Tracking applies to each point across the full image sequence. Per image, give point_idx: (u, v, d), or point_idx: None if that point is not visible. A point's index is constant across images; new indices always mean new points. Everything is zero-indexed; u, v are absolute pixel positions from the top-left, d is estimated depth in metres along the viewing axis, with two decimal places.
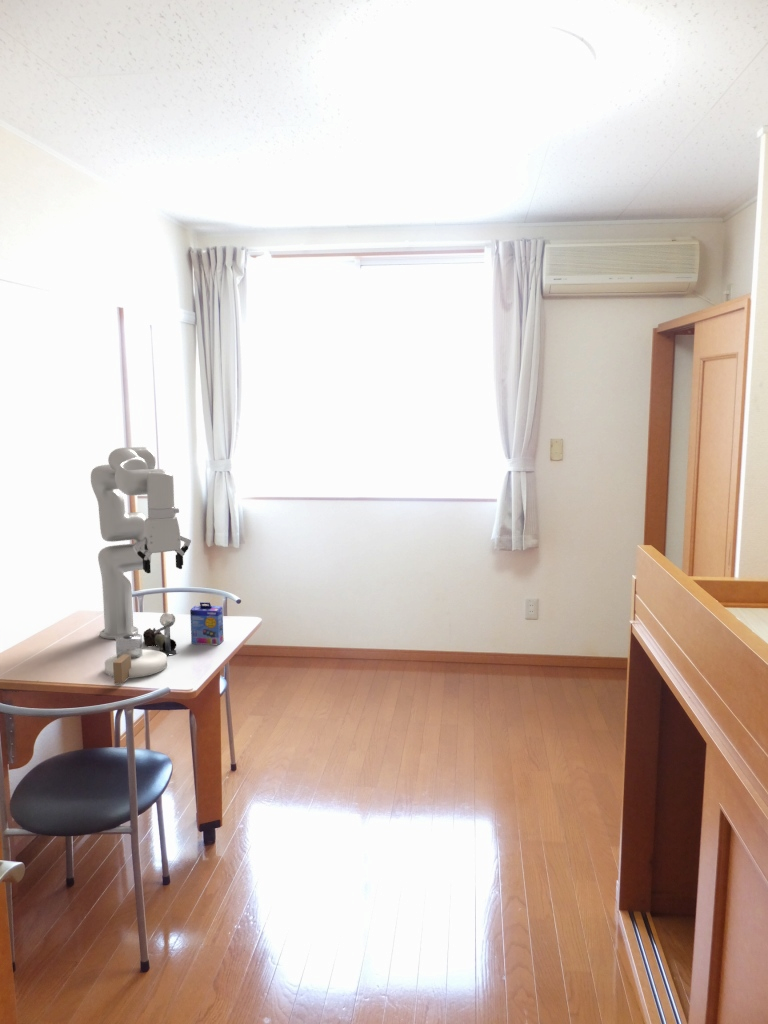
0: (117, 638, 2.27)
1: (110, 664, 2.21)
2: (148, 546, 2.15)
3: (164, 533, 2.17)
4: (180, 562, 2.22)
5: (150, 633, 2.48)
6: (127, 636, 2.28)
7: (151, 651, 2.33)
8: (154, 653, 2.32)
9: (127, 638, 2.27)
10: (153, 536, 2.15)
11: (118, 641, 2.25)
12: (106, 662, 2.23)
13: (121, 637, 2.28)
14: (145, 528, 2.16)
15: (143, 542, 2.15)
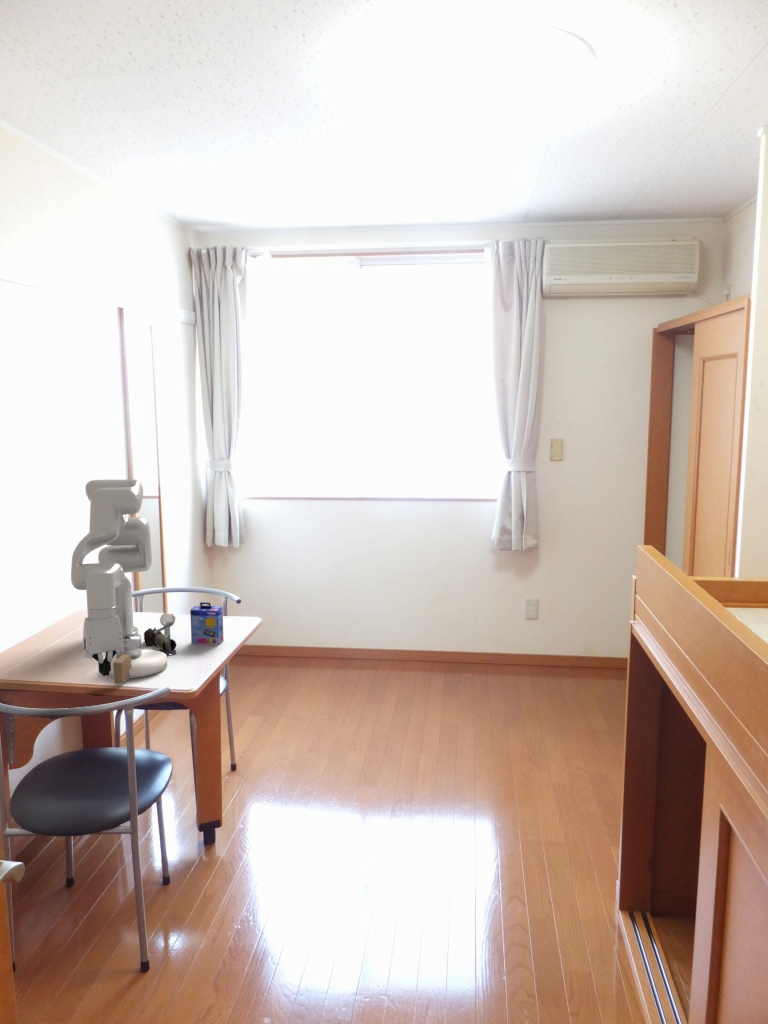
0: None
1: None
2: (87, 648, 2.06)
3: (104, 633, 2.08)
4: (107, 668, 2.10)
5: (150, 633, 2.48)
6: (126, 636, 2.28)
7: (151, 651, 2.33)
8: (154, 653, 2.32)
9: (126, 638, 2.27)
10: (92, 637, 2.06)
11: None
12: None
13: None
14: (84, 628, 2.07)
15: None
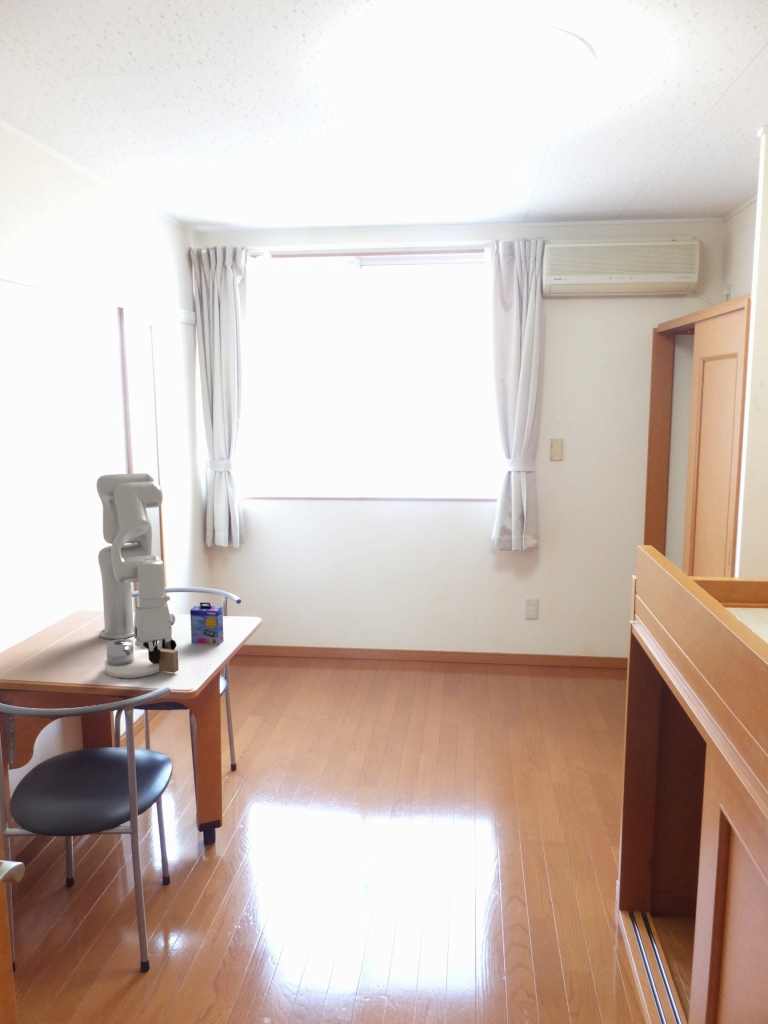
0: (117, 646, 2.20)
1: (138, 667, 2.19)
2: (138, 636, 2.14)
3: (154, 622, 2.16)
4: (157, 656, 2.19)
5: None
6: (118, 642, 2.22)
7: None
8: None
9: (124, 642, 2.23)
10: (143, 626, 2.14)
11: (124, 646, 2.20)
12: (129, 669, 2.18)
13: (116, 645, 2.21)
14: (136, 618, 2.15)
15: None
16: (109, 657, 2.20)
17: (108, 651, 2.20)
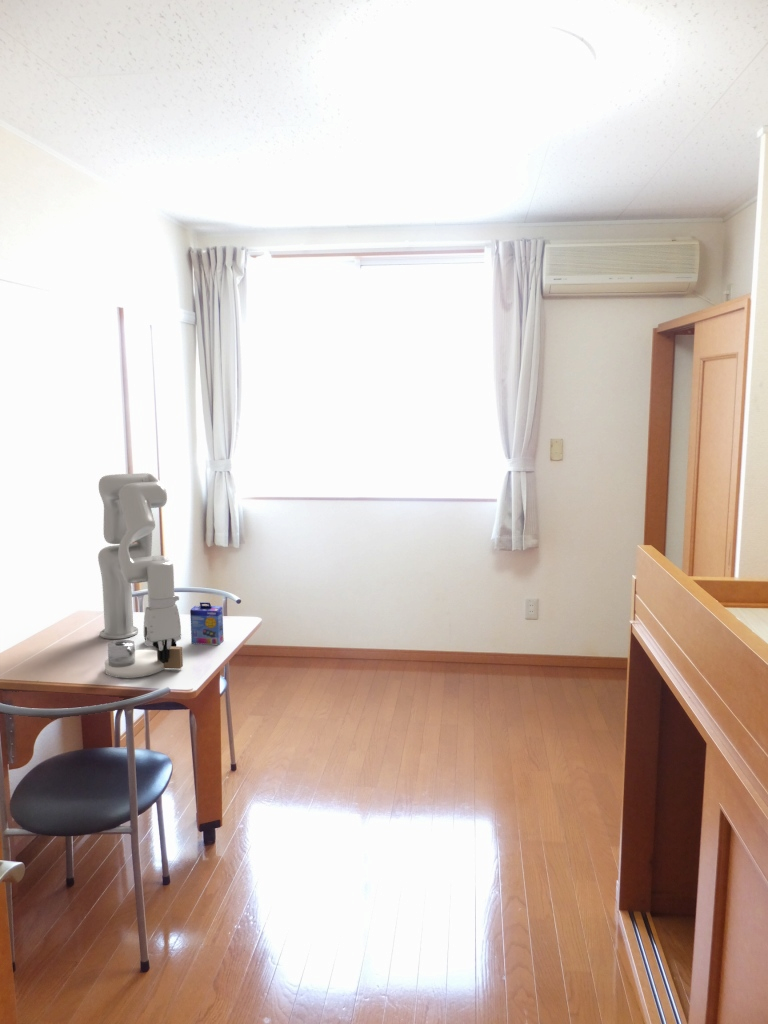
0: (122, 647, 2.19)
1: (145, 666, 2.20)
2: (148, 636, 2.16)
3: (164, 622, 2.18)
4: (166, 656, 2.21)
5: None
6: (120, 643, 2.22)
7: None
8: None
9: (126, 643, 2.22)
10: (153, 626, 2.16)
11: (128, 647, 2.20)
12: (137, 668, 2.18)
13: (119, 646, 2.20)
14: (145, 617, 2.17)
15: None
16: (113, 658, 2.19)
17: (111, 653, 2.19)
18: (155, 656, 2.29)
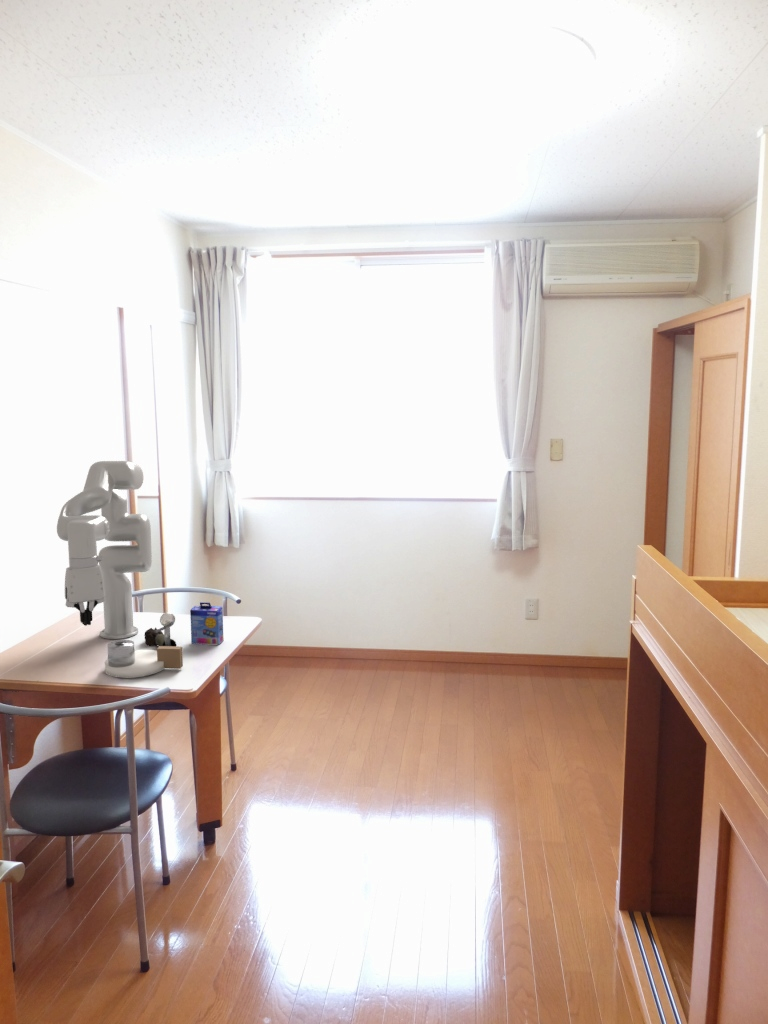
0: (122, 647, 2.19)
1: (145, 666, 2.20)
2: (69, 596, 2.10)
3: (85, 583, 2.12)
4: (89, 618, 2.14)
5: (151, 633, 2.48)
6: (120, 643, 2.22)
7: None
8: None
9: (126, 643, 2.22)
10: (74, 586, 2.10)
11: (128, 647, 2.20)
12: (137, 668, 2.18)
13: (119, 646, 2.20)
14: (66, 578, 2.11)
15: None
16: (113, 658, 2.19)
17: (111, 653, 2.19)
18: (155, 656, 2.29)
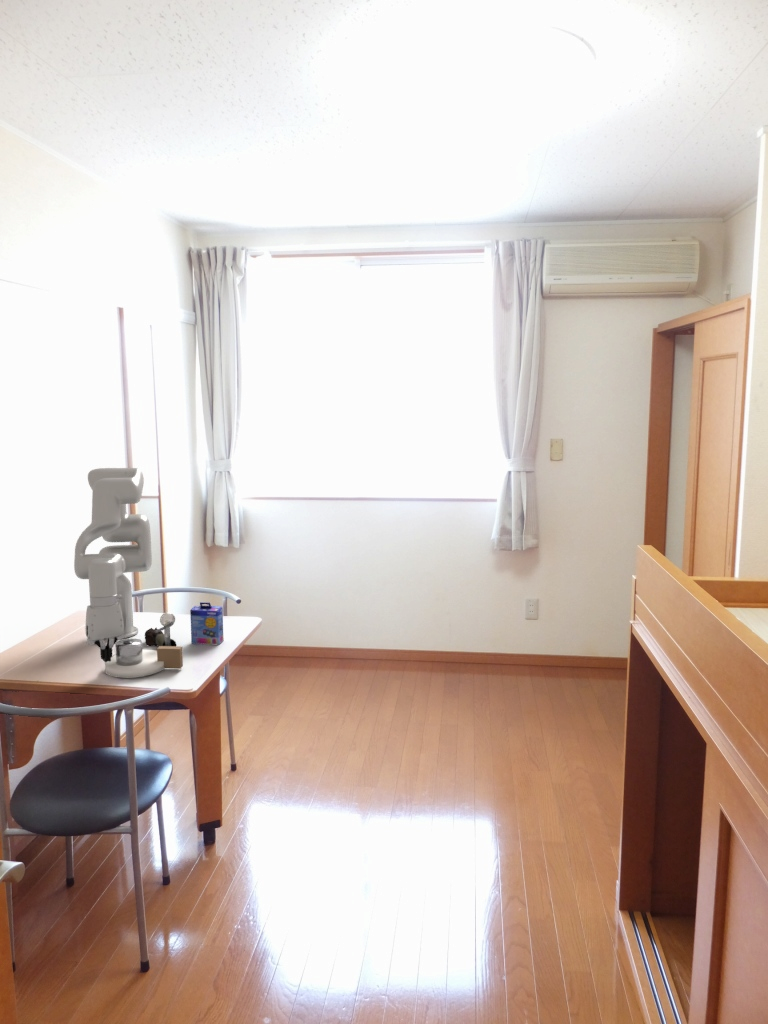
0: (130, 645, 2.20)
1: (145, 666, 2.20)
2: (89, 634, 2.15)
3: (105, 621, 2.16)
4: (109, 654, 2.19)
5: (151, 633, 2.48)
6: (128, 642, 2.23)
7: (114, 656, 2.28)
8: None
9: (134, 642, 2.23)
10: (94, 624, 2.15)
11: (136, 645, 2.21)
12: (137, 668, 2.18)
13: (127, 644, 2.21)
14: (87, 616, 2.16)
15: None
16: (121, 657, 2.20)
17: (119, 651, 2.20)
18: (155, 656, 2.29)
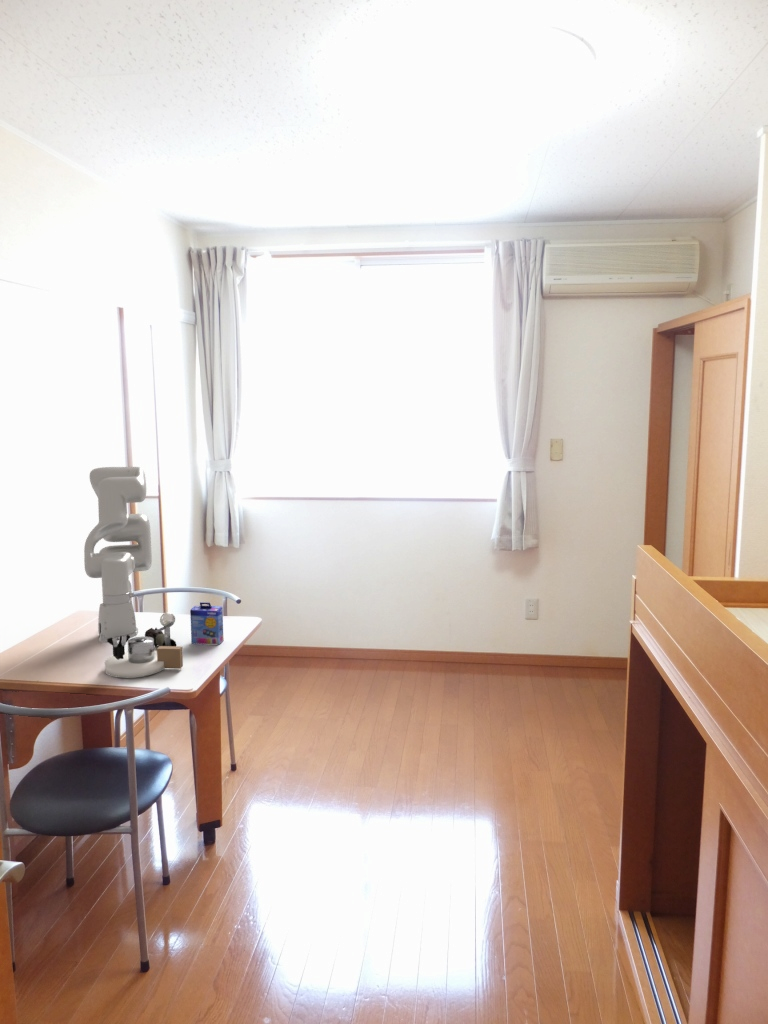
0: (142, 643, 2.22)
1: (145, 666, 2.20)
2: (102, 632, 2.17)
3: (118, 618, 2.19)
4: (121, 652, 2.21)
5: (151, 633, 2.48)
6: (140, 640, 2.25)
7: None
8: None
9: (146, 639, 2.26)
10: (107, 622, 2.17)
11: (148, 643, 2.23)
12: (137, 668, 2.18)
13: (139, 642, 2.23)
14: (100, 614, 2.18)
15: None
16: (133, 655, 2.22)
17: (132, 649, 2.22)
18: (155, 656, 2.29)
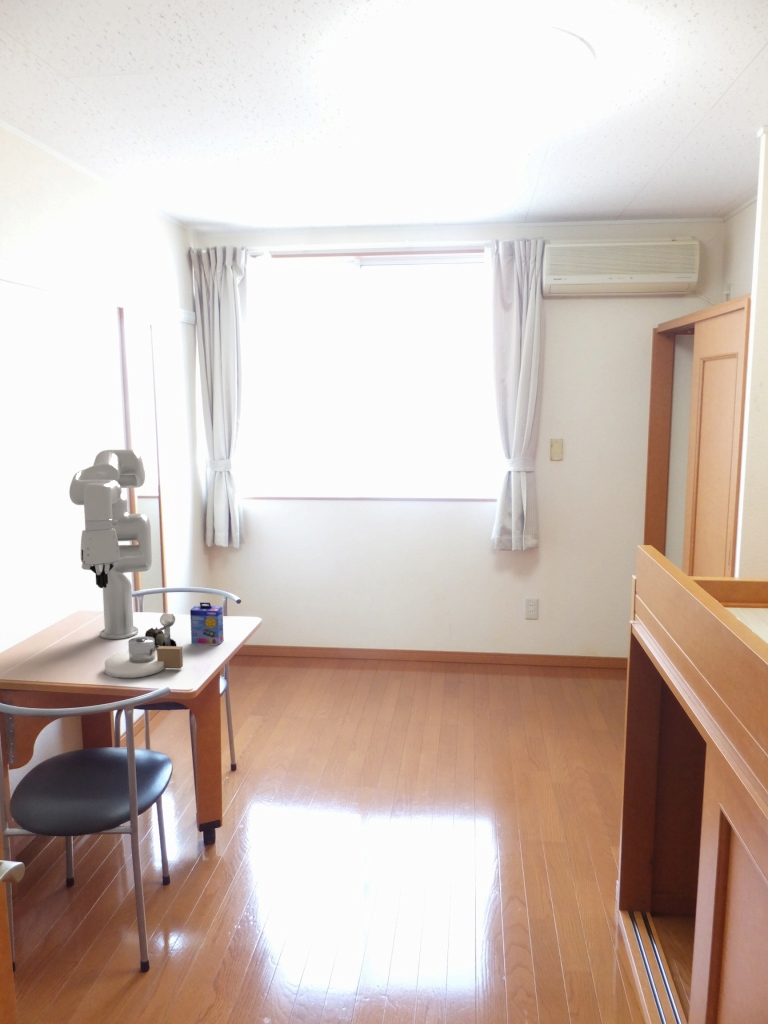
0: (142, 643, 2.22)
1: (145, 666, 2.20)
2: (85, 558, 2.12)
3: (101, 545, 2.13)
4: (104, 580, 2.16)
5: (152, 633, 2.48)
6: (140, 640, 2.25)
7: (114, 656, 2.28)
8: (121, 655, 2.30)
9: (146, 639, 2.26)
10: (90, 548, 2.12)
11: (149, 643, 2.23)
12: (137, 668, 2.18)
13: (140, 642, 2.23)
14: (82, 540, 2.12)
15: None
16: (134, 654, 2.22)
17: (132, 649, 2.22)
18: (155, 656, 2.29)
